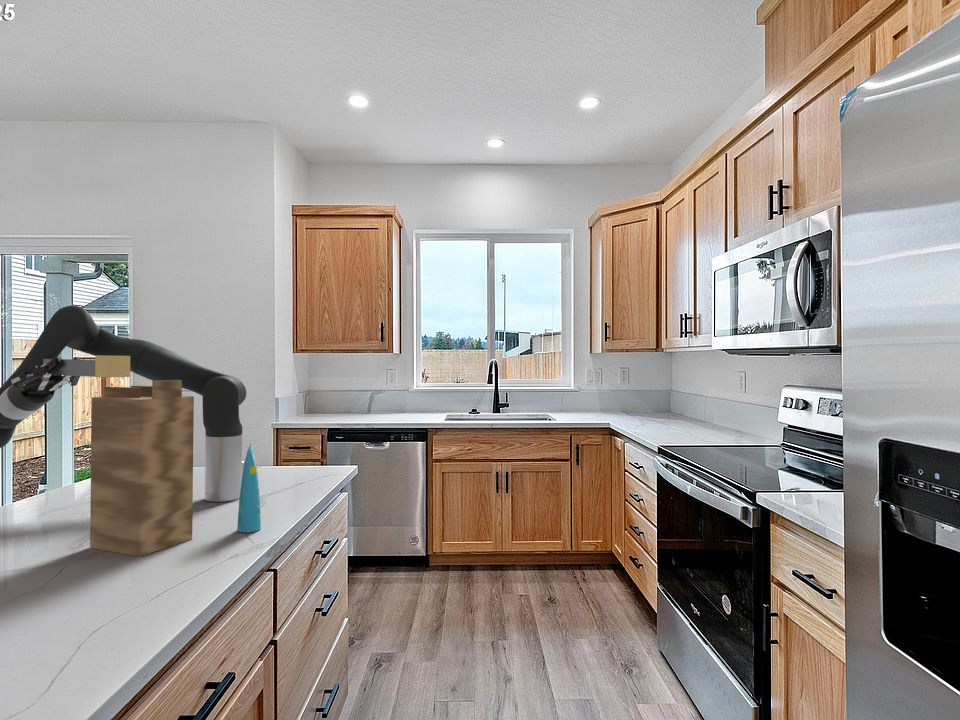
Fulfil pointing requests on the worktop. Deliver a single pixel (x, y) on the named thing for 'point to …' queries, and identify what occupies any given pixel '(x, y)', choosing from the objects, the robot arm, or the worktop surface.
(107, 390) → the post
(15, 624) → the worktop surface
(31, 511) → the worktop surface
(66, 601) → the worktop surface
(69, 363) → the grey long block
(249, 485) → the tube
